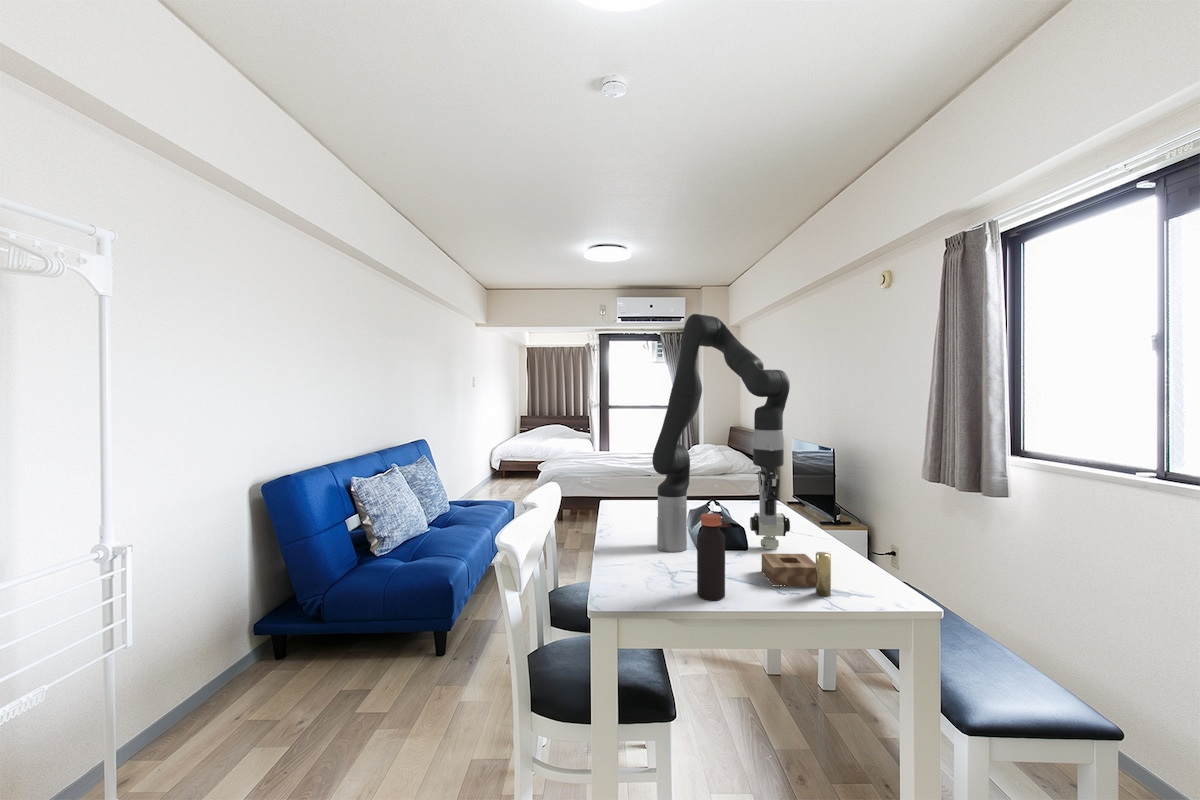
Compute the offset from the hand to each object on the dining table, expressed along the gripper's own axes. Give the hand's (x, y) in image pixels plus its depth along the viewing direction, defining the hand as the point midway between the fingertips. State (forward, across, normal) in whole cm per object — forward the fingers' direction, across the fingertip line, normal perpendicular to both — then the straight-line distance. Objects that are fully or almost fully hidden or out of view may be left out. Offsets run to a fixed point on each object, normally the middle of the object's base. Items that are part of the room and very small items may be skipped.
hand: (767, 513), depth 145 cm
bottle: (+19, +8, -16) cm, 26 cm away
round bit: (+19, +5, +12) cm, 23 cm away
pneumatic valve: (+19, -34, +8) cm, 40 cm away
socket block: (+19, -6, +7) cm, 21 cm away
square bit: (+3, 0, 0) cm, 3 cm away
